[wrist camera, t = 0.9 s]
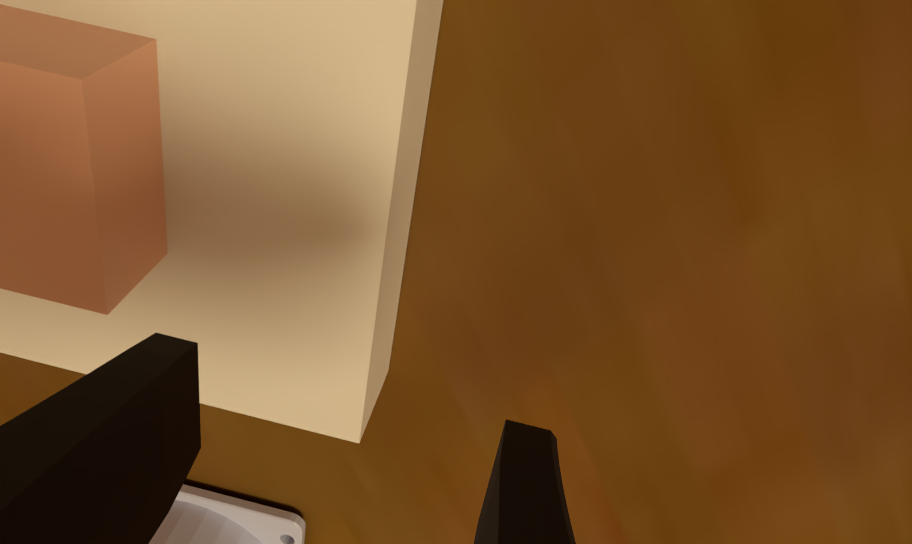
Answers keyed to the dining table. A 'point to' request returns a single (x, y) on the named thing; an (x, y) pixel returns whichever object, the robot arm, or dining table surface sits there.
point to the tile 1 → (78, 160)
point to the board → (267, 201)
